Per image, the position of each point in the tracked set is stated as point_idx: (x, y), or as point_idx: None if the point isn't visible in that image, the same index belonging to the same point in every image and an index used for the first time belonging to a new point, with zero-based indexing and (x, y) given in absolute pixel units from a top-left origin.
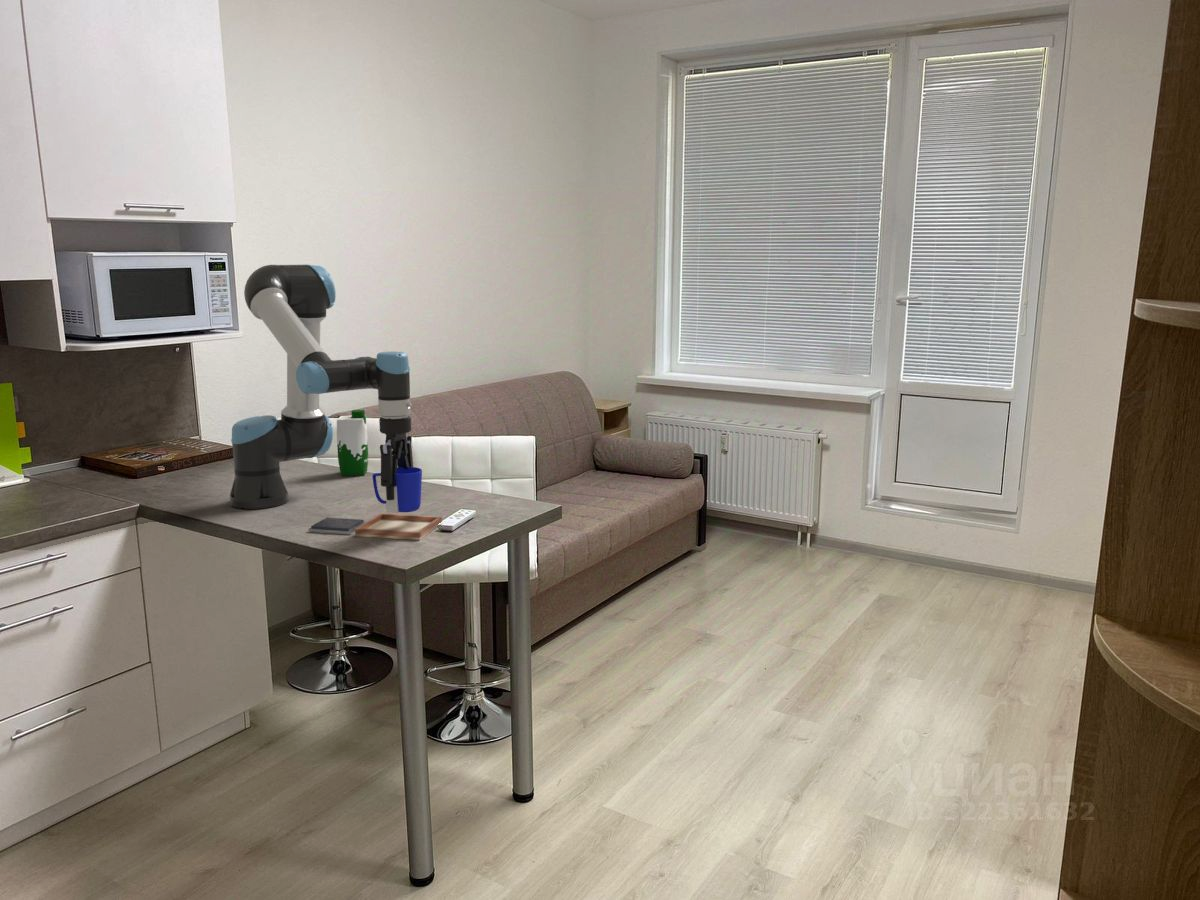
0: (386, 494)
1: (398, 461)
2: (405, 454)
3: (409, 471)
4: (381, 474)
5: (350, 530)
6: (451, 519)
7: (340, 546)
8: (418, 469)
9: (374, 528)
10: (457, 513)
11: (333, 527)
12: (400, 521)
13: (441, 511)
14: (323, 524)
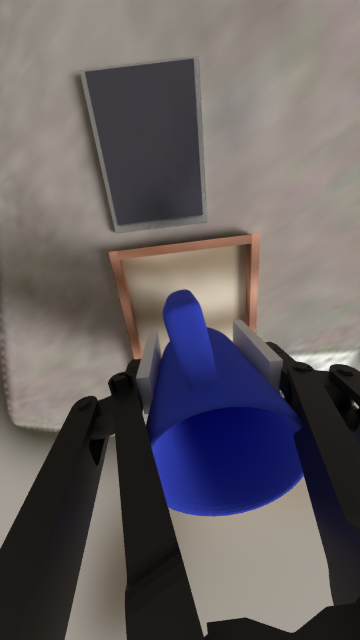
0: (141, 359)
1: (318, 462)
2: (335, 601)
3: (286, 435)
4: (51, 454)
5: (123, 228)
6: None
7: (36, 265)
8: (277, 486)
9: (165, 272)
10: (321, 359)
11: (106, 171)
12: (233, 297)
13: (336, 326)
14: (119, 109)
